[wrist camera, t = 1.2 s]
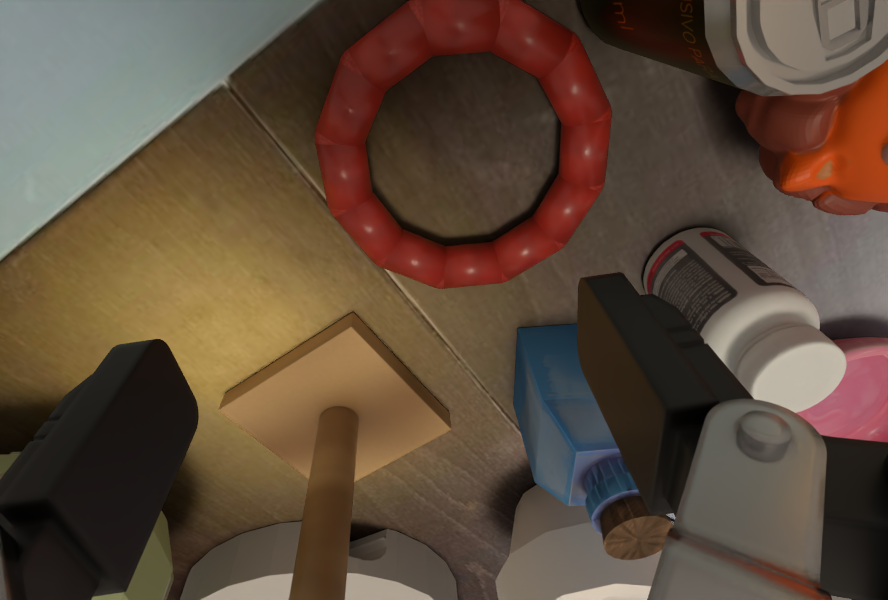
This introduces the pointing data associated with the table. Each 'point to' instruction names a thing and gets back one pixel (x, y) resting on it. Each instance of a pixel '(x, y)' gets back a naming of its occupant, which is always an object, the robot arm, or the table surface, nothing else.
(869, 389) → the saucer
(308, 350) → the peg stand
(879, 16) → the beer can
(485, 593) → the table surface
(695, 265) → the pill bottle
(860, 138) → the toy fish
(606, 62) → the table surface
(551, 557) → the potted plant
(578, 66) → the ring
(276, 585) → the grey plate
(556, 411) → the perfume bottle
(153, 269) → the table surface
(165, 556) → the tennis ball
